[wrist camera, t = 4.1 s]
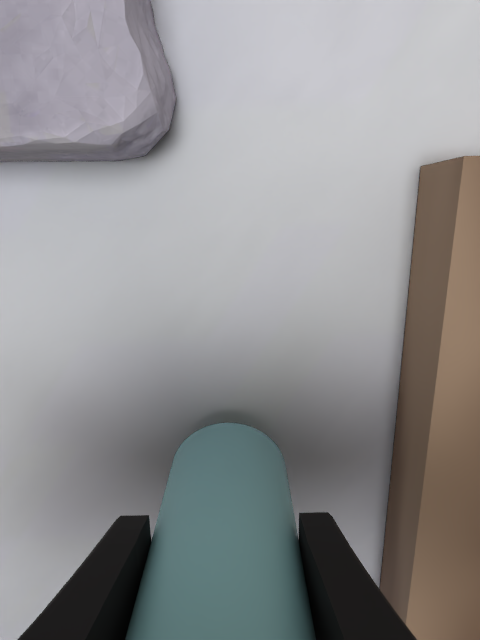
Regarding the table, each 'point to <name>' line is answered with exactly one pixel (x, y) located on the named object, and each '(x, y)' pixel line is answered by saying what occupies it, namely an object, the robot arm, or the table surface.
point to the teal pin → (224, 546)
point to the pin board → (439, 417)
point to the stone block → (81, 80)
